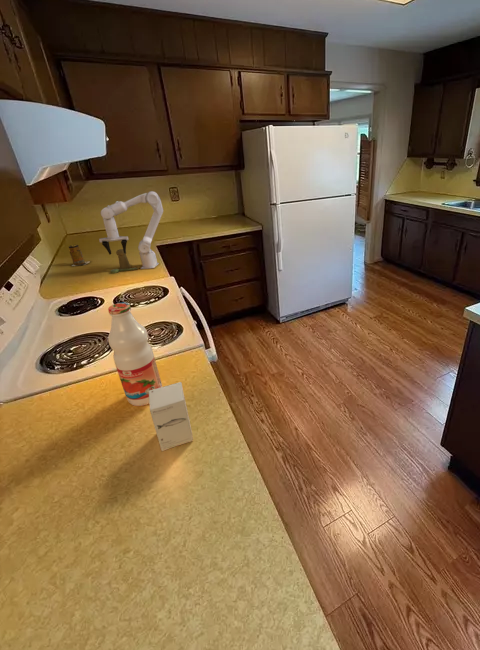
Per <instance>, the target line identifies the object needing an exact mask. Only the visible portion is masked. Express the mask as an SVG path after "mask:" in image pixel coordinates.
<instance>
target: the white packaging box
mask: <svg viewBox="0 0 480 650" xmlns="http://www.w3.org/2000/svg"><path fill="white" fill-rule="evenodd" d="M148 405H149V412H150V416H151V419H152V424H153V426H154V430H155V433H156V437H157V441H158V443H159V447H160V451H161V452H164V451H166V450H169V449H172V448H174V447H175V448H176V447H179V446H180V445H183V444H187V443H190V442H194V436H193V431H192V426H191V421H190V416H189V411H188V406H187V402H186V397H185V393H184V388H183V383H182V381H179V382H176V383H175V382H174V383H172V384H169V385H163V386H162V387H160V388H157V389H153V390H149V404H148Z"/></svg>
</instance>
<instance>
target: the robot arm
mask: <svg viewBox="0 0 480 650" xmlns="http://www.w3.org/2000/svg"><path fill="white" fill-rule="evenodd" d="M140 203H142V204H143V203H144V204H147V203H148V204H149V205H150V206H151V209H152V210H153V213H152V216H151V217H150V220H149V223H148V225H147V228H146V231H145V232H144V235H143V238H142V239H141V240H140V241H139V243H138V247H137V249H138V252H139V253H138V254H139V257H140V262H141V265H142V266H141V267H140V270H146V269H147V270H148V269H150V270H151V269H155V268H156V267H157V266H158V265H159V264H160V262H158V259H157V254H156V253H155V251H153V250H152V248H151V246H152V244H151V243H152V241H153V238H154V236H155V233H156V231H157V228H158V226H159V223H160V222H161V219H162V216H163V213H164V208H163V204H162V203H163V202H162V200H161V198H160V196H159V194H158V193H157V192H156V191H153V190H150V191H148V192H144V193H142V194H139V195H137V196H135V197H132V198H130V199H128V200H126V201H121V200H117V201H115V203H112V204H111V205H109V204H108V205H107V206H106V207H103V208H102V209H101V211H100V216H101V217H102V220H103V225H104V229H105V232H106V235H107V237H101V238H99V239H98V240H99V243H101V245H102V246H103V247H104V248H105V249H106V251H107V253H108V254H109V255H112V250H111V246H110V242H120V243H121V246H122V247H121V248H122V249H123V251H124V253H126V254H127V243H128V241H129V239H130V238H129V236H128V235H126V236H125V235H124V236H123V235H120V234H119V230H118V226H117V222H116V219H115V216H119V215H120V214H123V213H125V212H127V211H128V208H130V207H132V206H135V205H139V204H140Z"/></svg>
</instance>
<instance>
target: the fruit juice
mask: <svg viewBox="0 0 480 650" xmlns="http://www.w3.org/2000/svg"><path fill="white" fill-rule="evenodd" d="M107 310H108V314H109V316H111V325H110V331H109V334H108V336H107V341H108V345H109V347H110V348H111V350H112V352H113V356H112V357H113V362H114V365H115V368H116V371H117V375H118V377H119V380H120V383H121V386H122V389H123V392H124V394H125V397H126V400H127V402H128V403H129V404H130V405H132V406H135V407H142V406H147V405H150V404H149V390H153V389H157V388H160V387H163V382H162V380H161V377H160V372H159V368H158V364H157V362H156V361H157V360H156V357H155V353H154V350H153V347H152V346H151V344H150V342H148V341H149V340H148V339H149V334H148V331H147V329H146V328H145V326H144V325H143V324H141V323H139V321H138V320H137V319H136V318H135V317H134V315H133V314H132V307H131V304H130V303H129V302H125V301H124V302H117V303H114V304H112V305H110V306H109V307H108V309H107Z"/></svg>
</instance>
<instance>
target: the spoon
mask: <svg viewBox="0 0 480 650" xmlns="http://www.w3.org/2000/svg"><path fill="white" fill-rule="evenodd" d="M138 269H139V268H138V267H130V268H127V269H120V268H113V269H111V270H109V272H110V274H117V273H121V272H129V271H136V270H138Z"/></svg>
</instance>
